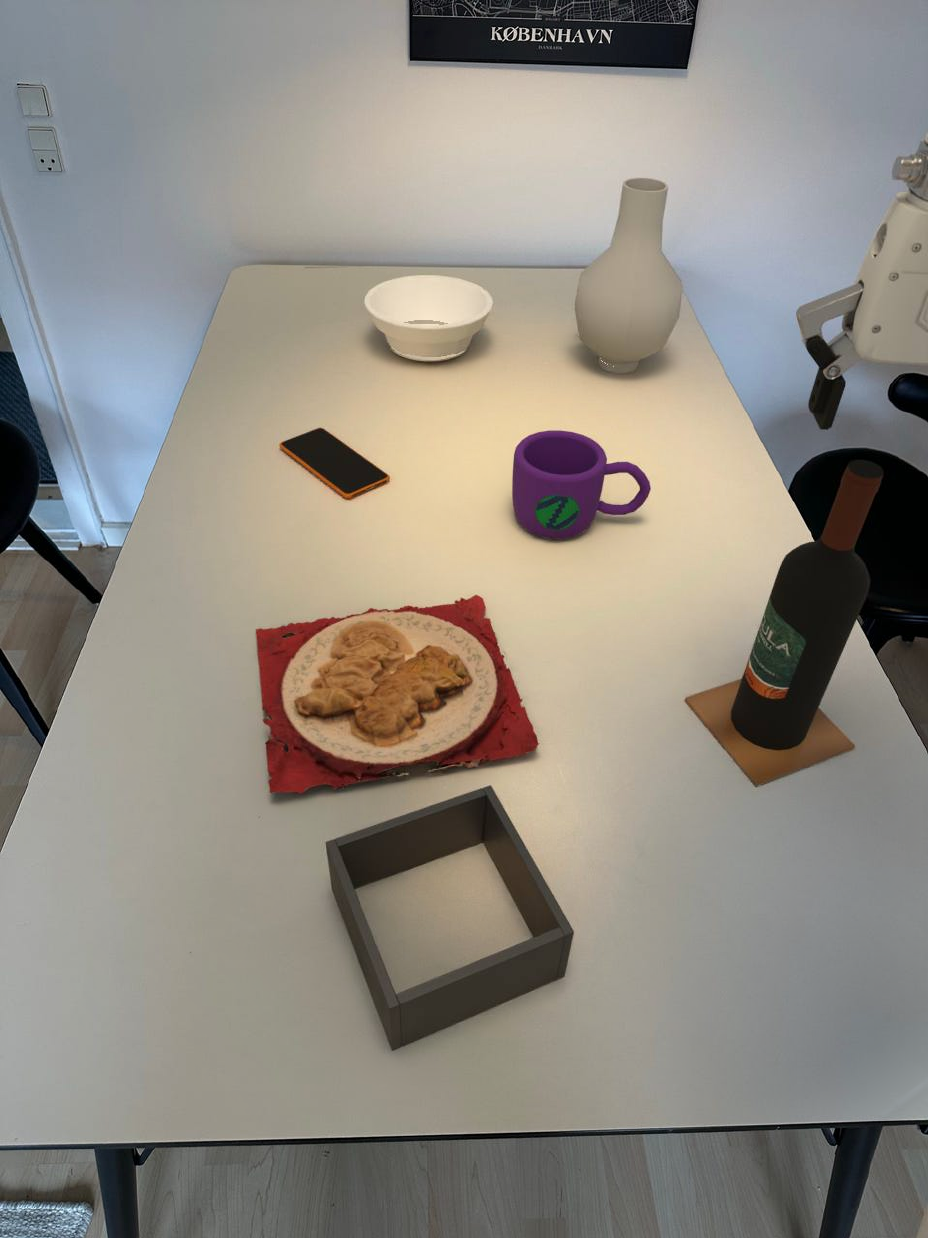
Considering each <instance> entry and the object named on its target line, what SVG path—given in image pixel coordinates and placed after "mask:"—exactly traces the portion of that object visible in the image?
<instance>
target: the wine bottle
mask: <svg viewBox="0 0 928 1238" xmlns="http://www.w3.org/2000/svg"><path fill="white" fill-rule="evenodd" d="M884 474H885V471H884V468H882V467H881V466H880V465H879V464H877V463H876V462H873V461H870V460H866V459H853V460H851V461H848V464H847V466H846V468H845V469H844V471H843V474H842V477H841V480H840V485H839V488H838V490H837V492H836V496H835V498H834V501H833V503H832V506H831V509H830V512H829V515H828V517H827V520H826V523H825V526H824V529H823V531H822V534H821V535H820V537H819V538H818V540H814V541H813V540H812V541H808V542H805V543H802V544H799V545H798V546H796V547H795V548H793V549H792V550H790V551H789V552H788V553H787V554H785V556H784V558H783V559H782V561H781V563H780V566H779V568H778V571H777V574H776V576H775V580H774V582H773V585H772V588H771V591H770V594H769V597H768V601H767V603H766V606H765V609H764V613H763V615H762V618H761V621H760V624H759V627H758V629H757V633H756V636H755V639H754V642H753V644H752V648H751V649H750V650H751V651H750V652H749V656H748V659H747V663H746V665H745V669H744V671H743V675H742V677H741V679H742V680H741V683H740V686H739V689H738V692H737V695H736V698H735V701H734V704H733V707H732V710H731V720H732V723H733V725H734V727H735V729H736V730H737V731H738V732H739V733H740V734H741V735H742V737H743V738H745V739H747V740H748V741H750V742H751V743H753V744H755V745H757V746H760V747H762V748H765V749H771V750H787V749H791V748H793V747H796V746H798V745H799V744H800V743H801V742H802V741H803V740H804V739H805V737H806V735H807V732H808V730H809V728H810V726H811V723H812V721H813V719H814V716H815V714H816V712H817V709H818V708H820V705H821V702H822V700H823V698H824V695H825V693H826V691H827V689H828V687H829V684H830V681H831V679H832V677H833V675H834V672H835V670H836V668H837V666H838V663H839V661H840V658H841V656H842V654H843V652H844V649H845V648H846V645H847V642H848V640H849V639H850V636H851V633H852V632H853V628H854V626H855V625H856V622H857V619H858V618H859V615H860V612H861V610H862V609H863V606H864V603H865V601H866V599H867V596H868V593H869V590H870V587H871V586H870V585H871V578H870V574H869V571H868V568H867V566H866V564H865V561H863V559H862V558H861V557H860V556H859V555H858V554H857V553H856V552H855V547H856V544H857V541H858V539H859V536H860V533H861V532H862V529H863V526H864V524H865V521H866V520H867V519H866V518H867V516H868V514H869V511H870V509H871V506H872V504H873V501H874V499H875V497H876V494H877V493H878V491H879V489H880V486H881V484H882V481H883V477H884Z"/></svg>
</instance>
